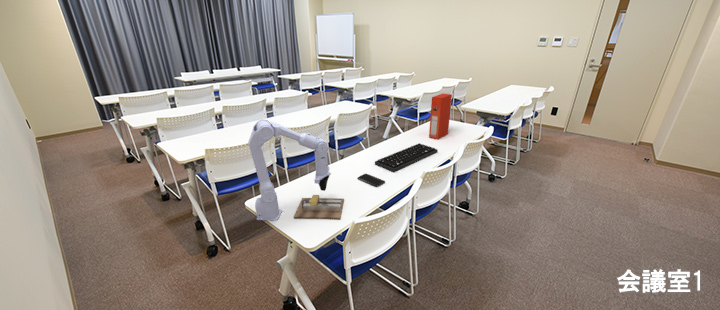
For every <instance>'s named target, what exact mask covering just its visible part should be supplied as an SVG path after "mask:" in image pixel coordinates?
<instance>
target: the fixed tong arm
mask: <svg viewBox="0 0 720 310" xmlns="http://www.w3.org/2000/svg"><path fill="white" fill-rule="evenodd" d="M301 200H302V199H301ZM302 208H303V209H304V211H323V212H340V211H341V204H319V203H318V204H317V206H312V205H310V203H308V200H302Z"/></svg>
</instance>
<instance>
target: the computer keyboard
mask: <svg viewBox="0 0 720 310" xmlns="http://www.w3.org/2000/svg"><path fill="white" fill-rule="evenodd" d="M437 153H438V149H437V148H436V147H432V146H428V145H426V144H423V143H419V142H418V143H416V144H415V145H411V146H410V147H407V148H405V149H402V150H400V151H396V152H394V153H392V154H389V155H387V156H384V157H381V158H379V159H377V160H376V161H374V165H375V166H377V167H380V168H382V169H384V170H387V171H389V172H392V173H396V172H398V171H401V170H402V169H405V168H407V167H409V166H412V165H413V164H415V163H418V162H420V161H422V160H424V159H426V158H429V157H431V156H433V155H435V154H437Z"/></svg>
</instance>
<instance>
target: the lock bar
mask: <svg viewBox="0 0 720 310" xmlns="http://www.w3.org/2000/svg"><path fill="white" fill-rule="evenodd" d="M310 198H311V201H310V205H312V206H317V204H318V201H319V198H320V194H312V195H311V197H310Z"/></svg>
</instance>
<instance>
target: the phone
mask: <svg viewBox="0 0 720 310" xmlns="http://www.w3.org/2000/svg"><path fill="white" fill-rule="evenodd" d="M357 180H358V181H361V182H363V183H365V184H367V185H369V186H372V187H374V188H379V187H381V186H383V185H384V184H386V180H383V179H381V178H379V177H377V176H374V175H371V174H370V173H369V174H368V173H363V174H361V175H360V176H358V177H357Z"/></svg>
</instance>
